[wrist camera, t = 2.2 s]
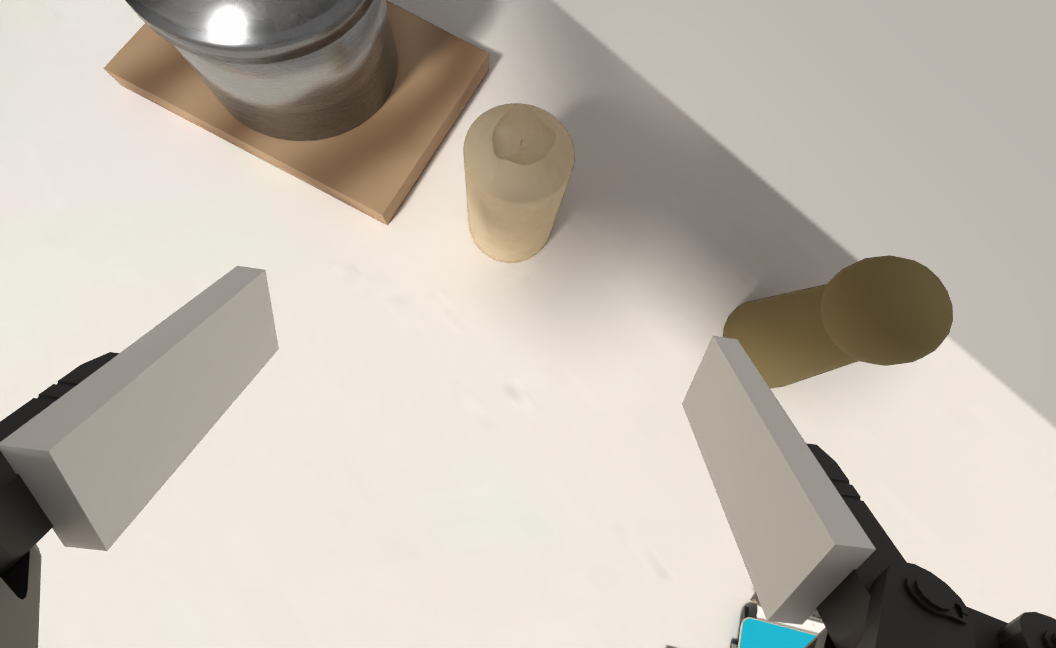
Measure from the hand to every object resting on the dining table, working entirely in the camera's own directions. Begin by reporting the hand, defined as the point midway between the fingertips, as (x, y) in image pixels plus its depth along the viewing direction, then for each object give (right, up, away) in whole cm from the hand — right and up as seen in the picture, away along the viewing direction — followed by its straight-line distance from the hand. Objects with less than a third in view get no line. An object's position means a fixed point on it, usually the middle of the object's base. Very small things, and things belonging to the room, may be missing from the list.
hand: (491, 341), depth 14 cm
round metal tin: (-14, +18, +16) cm, 28 cm away
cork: (+17, -1, +17) cm, 24 cm away
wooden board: (-14, +18, +18) cm, 29 cm away
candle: (0, +7, +17) cm, 19 cm away
